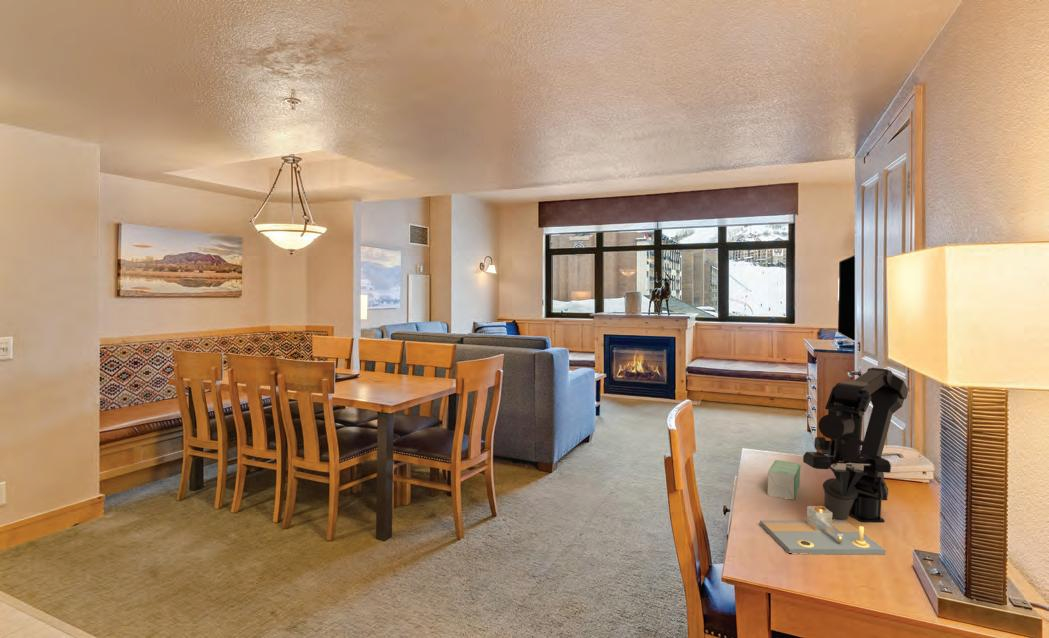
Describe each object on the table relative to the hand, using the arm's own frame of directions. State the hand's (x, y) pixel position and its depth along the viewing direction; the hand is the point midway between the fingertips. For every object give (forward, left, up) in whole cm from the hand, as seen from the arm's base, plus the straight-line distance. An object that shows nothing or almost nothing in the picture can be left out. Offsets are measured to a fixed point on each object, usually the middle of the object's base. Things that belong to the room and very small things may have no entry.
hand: (844, 495), depth 132 cm
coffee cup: (-4, -10, -9) cm, 14 cm away
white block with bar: (+6, +4, -8) cm, 11 cm away
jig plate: (+8, +4, -9) cm, 13 cm away
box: (+1, -27, -10) cm, 29 cm away
